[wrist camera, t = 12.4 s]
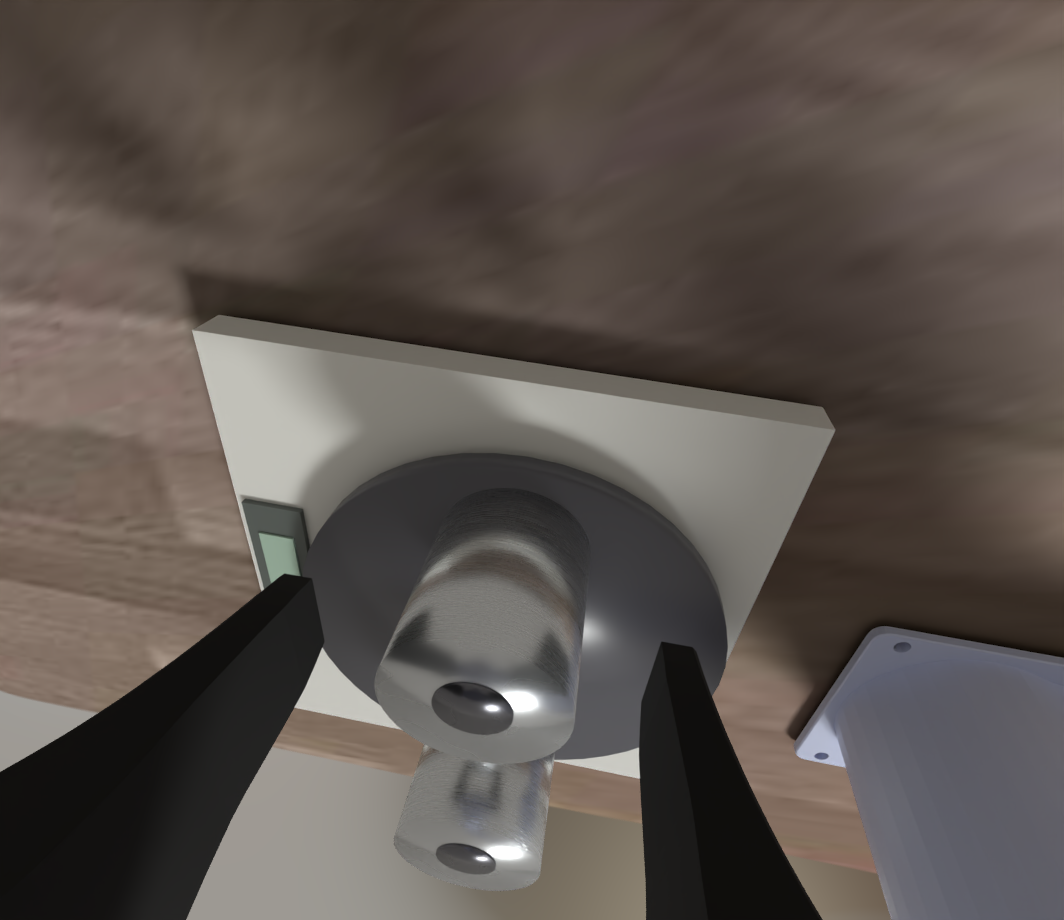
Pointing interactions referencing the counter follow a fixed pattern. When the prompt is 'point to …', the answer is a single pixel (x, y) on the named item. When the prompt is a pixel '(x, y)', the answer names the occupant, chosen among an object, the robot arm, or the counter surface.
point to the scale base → (493, 427)
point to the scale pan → (612, 599)
